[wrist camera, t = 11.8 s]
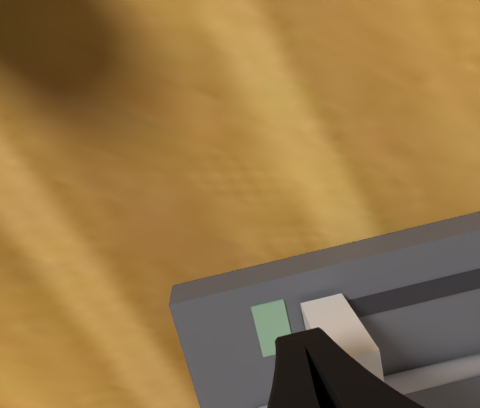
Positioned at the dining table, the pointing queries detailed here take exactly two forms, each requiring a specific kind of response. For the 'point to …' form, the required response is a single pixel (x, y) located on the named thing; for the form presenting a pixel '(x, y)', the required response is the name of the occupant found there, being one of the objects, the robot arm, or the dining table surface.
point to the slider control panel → (362, 303)
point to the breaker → (343, 330)
